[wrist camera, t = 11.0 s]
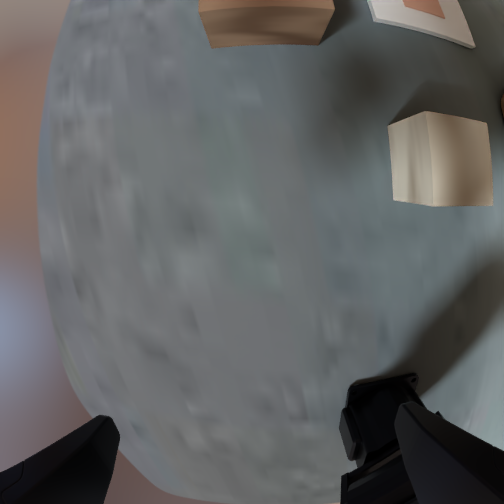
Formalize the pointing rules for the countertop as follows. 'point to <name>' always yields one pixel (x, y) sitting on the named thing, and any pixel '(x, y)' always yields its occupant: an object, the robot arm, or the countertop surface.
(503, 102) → the block
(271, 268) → the countertop surface
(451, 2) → the card
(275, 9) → the walnut block
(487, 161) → the ash cube
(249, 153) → the countertop surface
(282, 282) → the countertop surface
